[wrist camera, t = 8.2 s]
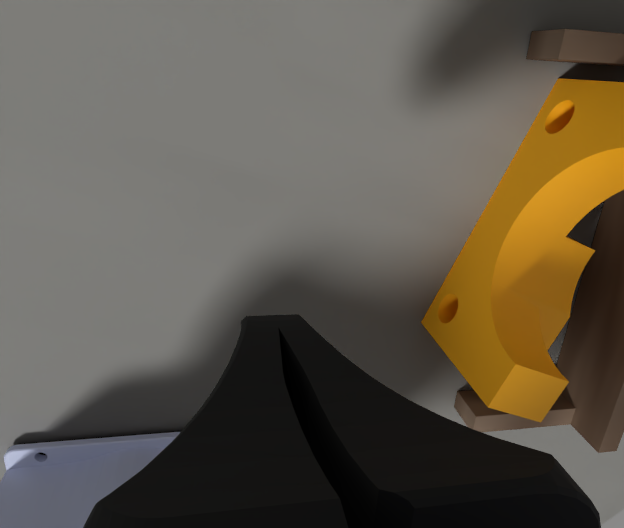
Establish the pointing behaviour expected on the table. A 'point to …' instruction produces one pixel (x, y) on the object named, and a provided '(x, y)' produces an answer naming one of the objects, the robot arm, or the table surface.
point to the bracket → (582, 296)
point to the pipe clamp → (531, 251)
